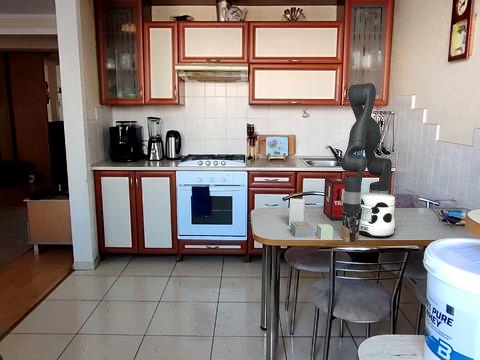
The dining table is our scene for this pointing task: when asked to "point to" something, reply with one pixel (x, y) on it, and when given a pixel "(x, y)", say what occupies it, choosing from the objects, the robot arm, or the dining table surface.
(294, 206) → the supplement box
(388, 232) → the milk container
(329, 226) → the sage green block
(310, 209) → the dining table surface
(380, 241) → the dining table surface
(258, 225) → the dining table surface
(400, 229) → the dining table surface
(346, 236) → the tan wooden cube
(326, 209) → the cleaning product box
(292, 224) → the grey base block
